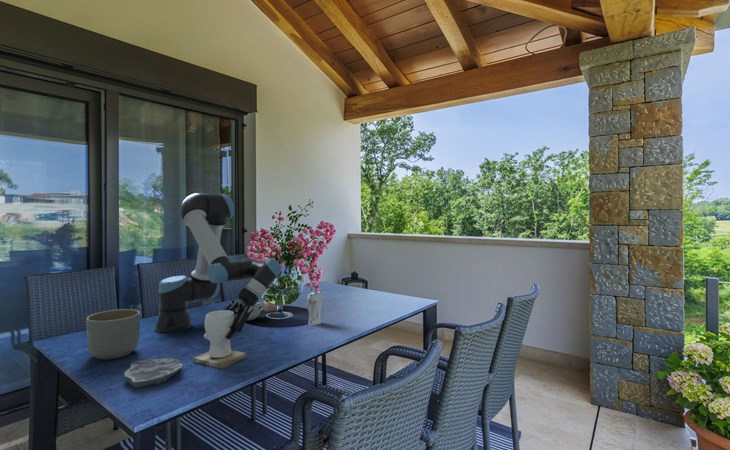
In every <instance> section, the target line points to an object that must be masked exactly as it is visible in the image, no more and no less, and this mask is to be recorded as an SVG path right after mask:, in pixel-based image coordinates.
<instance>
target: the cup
mask: <svg viewBox="0 0 730 450" xmlns="http://www.w3.org/2000/svg"><path fill="white" fill-rule="evenodd" d="M235 316H236V315H234V312H233V311H229V310H223V309H221V310H212V311H210V312H207V313H206V315H205V320H204V330H205V333H207V335H208V337H209V339H210V340H209V343H210V345H209V350H208V351H209V356H210V357H216V358H218V357H225V356H228V355H230V354H231V350H232V346H231V338H230V339H229V341H228V342H227V343H226V345H225V346H224V347H223V348H221V347H220V346H219V345H217V342H218V341H219V340H220V339H221V337H222V336H223V335H224V333H225V332H226V331H227V330H228V328H229V327H230V326H232V323H233V321H234V318H235Z"/></svg>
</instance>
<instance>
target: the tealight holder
mask: <svg viewBox="0 0 730 450" xmlns="http://www.w3.org/2000/svg"><path fill="white" fill-rule="evenodd" d="M265 300H266V299H264V300H263V303H264V304H265V308H264V309H263V311H264V312H267V313H270V312H271V313H273V311H274V312H277V311H276V310H277V307H276V306H275V305H272V304H269V303H267V302H266V301H265Z"/></svg>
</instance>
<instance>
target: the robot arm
mask: <svg viewBox="0 0 730 450" xmlns="http://www.w3.org/2000/svg"><path fill="white" fill-rule="evenodd" d="M179 209H180V211H179V212H180V218H181V220H182V221H183V224H184V225H185V226H187V227H188V228H189V229H190V231H191V233H192V235H193V237H194V239H195V241H196V244H198V246H199V247H198V252H197V256H196V257H197V258H196V264H195V269H194V270H192V271H191V273H190V277H187V276H186V275H176V276H175V275H174V276H169V277H166V278H163V279H162V280H160V281H159V284H158V305H159V306H158V309H159V310H158V315H157V318H156V322H155V324H154V330H155V331H156V332H158V333H176V332H182V331H185V330H189V329H190V328H191V327H192V320H191V317H190V314H189V310H188V304H190V303H194V302H195V303H196V302H199V301H208V300H210V299H214V298H215V297H217V295H218V294H219V292H220V289H221V283H222V284H223V283H227V282H233V281H240V280H241V281H242V280H246V279H249V281H248V282H247V283H246V284H245V285H244V288H242V289H241V290H240V291H239V293H238V294H237V296H238V297H237V298H238V299H237V300H234V299H231V300H230V301H229V303H228V304H227V305H226V306H225V307H224V308H223V309H222V310H229V311H233V312H234V316H235V318H234V321H233V323H232V326H230V327H229V328H228V330H227V331H226V332H225V333H224V335H223V336H222V337H221V339H220V340H219V341H218V342H217V345H219V346H220V347H221V348H223V347H224V346H225V345H226V343H227V342H228V341H229V339H230V340H231V338H232V337H233V336H234V335H235V333H241V331H242V330H243V328H244V326H245V324H246V323H247V321H248V320H247V319H248V317H249V315H250V314H251V312H252V311H253V308H252V307H250V306H254V305H255V304H256V303H257V302H259V300H260V298H261V297H262V296H263V295H264V294H265V292H266V291H267V290H268V289H269V287H270V286H271V284H272V283H273V282H274V281H275V280H276V278H278V276H279V274H280V273H281V272H282V270H283V269H282V268H283V267H282V265H281V264H280V262H278V261H277V260H276V259H274V258H271V257H267V259H266V260H264V261H263V262H262V261H260V260H256V259H253V258H243V259H242V260H237V261H231V260H230V259H229V257H228V255H227V254H226V251H225V249H224V248H223V246H222V245H221V243H220V241H221V238H222V237H221V236H222V232H223V227H225V226H226V225H227V224H228V223H227V222H228V220H230V219H232V218H233V217H234V215H235V206H234V202H233V200H232V198H231V197H230V196H229V195H227V194H222V193H202V192H197V193H196V192H195V193H192V194H190V195H188V196H186V197H185V198H184V199H183V201H182V203H181V205H180V208H179ZM203 338H205V339H206V340H208V341H210V339H209V337H208V335H207V333H206V332H205V333H204V335H203Z"/></svg>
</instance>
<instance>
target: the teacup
mask: <svg viewBox="0 0 730 450" xmlns="http://www.w3.org/2000/svg"><path fill="white" fill-rule="evenodd" d="M261 305H262V307H261V308H260V306H261ZM250 307H252V308H253V311H252V312H251V314H250V315H249V317H248V319H247V321H252V320H255V319H257V318H258V316H259V315H260V313H261V312H262V311H264V308H265V304H264V301H261V302H259V301H257V303H256V304H255V305H254V306H250Z"/></svg>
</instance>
